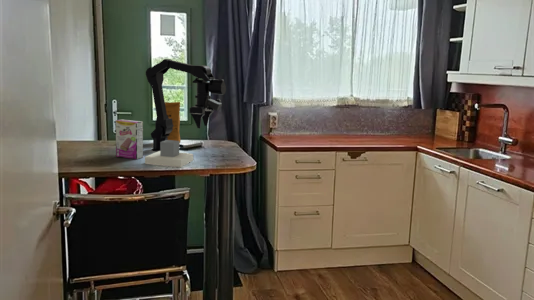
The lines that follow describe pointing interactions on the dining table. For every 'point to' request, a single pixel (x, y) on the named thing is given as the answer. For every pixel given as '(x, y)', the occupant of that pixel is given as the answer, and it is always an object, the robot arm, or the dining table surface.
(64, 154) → the dining table surface
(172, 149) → the grey cube
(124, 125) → the candy bar box
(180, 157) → the base block
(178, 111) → the coffee package
